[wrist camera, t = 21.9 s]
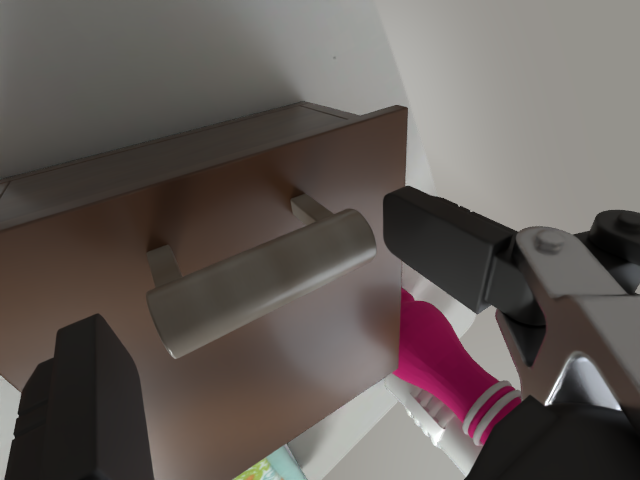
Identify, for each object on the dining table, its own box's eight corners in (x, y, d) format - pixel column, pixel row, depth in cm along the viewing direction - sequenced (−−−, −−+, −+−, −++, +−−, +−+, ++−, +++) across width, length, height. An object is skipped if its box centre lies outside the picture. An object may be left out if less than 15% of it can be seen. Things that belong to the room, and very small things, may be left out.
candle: (381, 337, 36) (508, 467, 25) (423, 326, 40) (550, 434, 29) (365, 383, 39) (473, 519, 28) (406, 369, 43) (516, 483, 32)
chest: (-9, 180, 14) (-78, 272, 9) (304, 100, 20) (391, 122, 14) (149, 394, 24) (167, 507, 18) (332, 298, 29) (391, 360, 24)
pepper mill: (344, 306, 31) (581, 551, 16) (403, 266, 33) (663, 450, 18) (358, 349, 35) (553, 574, 20) (409, 312, 37) (621, 491, 22)
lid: (-111, 253, 8) (-269, 424, 4) (396, 104, 14) (501, 127, 10) (167, 508, 18) (185, 622, 14) (391, 361, 23) (444, 417, 20)
